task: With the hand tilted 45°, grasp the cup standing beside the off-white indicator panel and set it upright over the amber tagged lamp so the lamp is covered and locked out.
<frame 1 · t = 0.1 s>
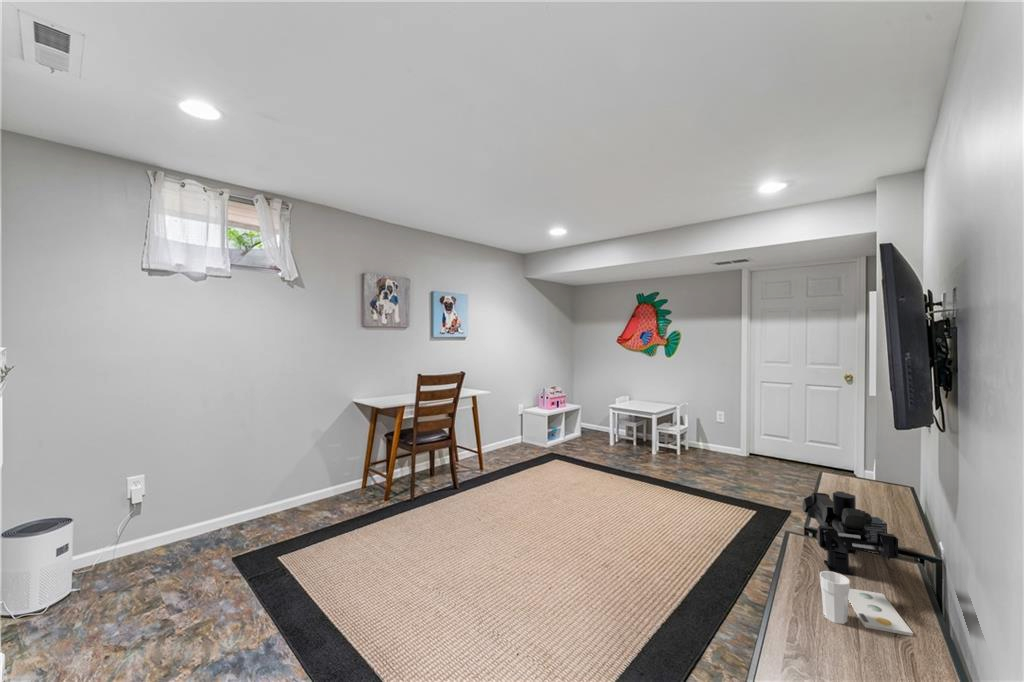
hand: (867, 554, 118), 17 cm above the table, tool horizontal, fingers open, 9 cm apart
cup: (835, 618, 117), on the table
small box: (866, 548, 155), on the table
indicator panel: (874, 611, 120), on the table
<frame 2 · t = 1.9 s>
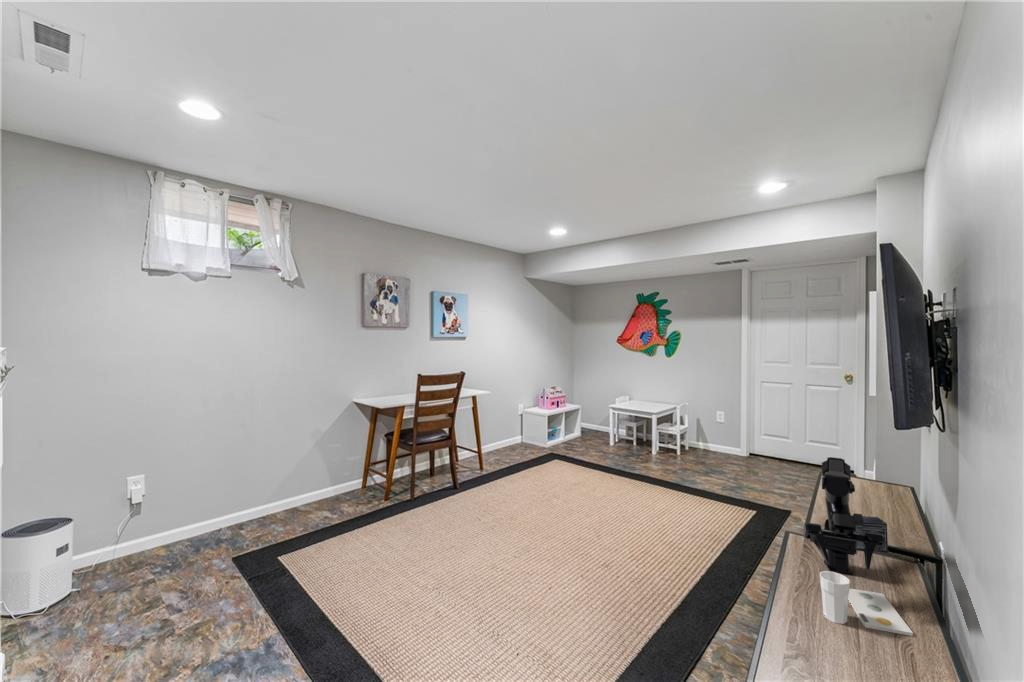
hand: (847, 566, 121), 12 cm above the table, tool tilted 45°, fingers open, 9 cm apart
nothing on the table moved.
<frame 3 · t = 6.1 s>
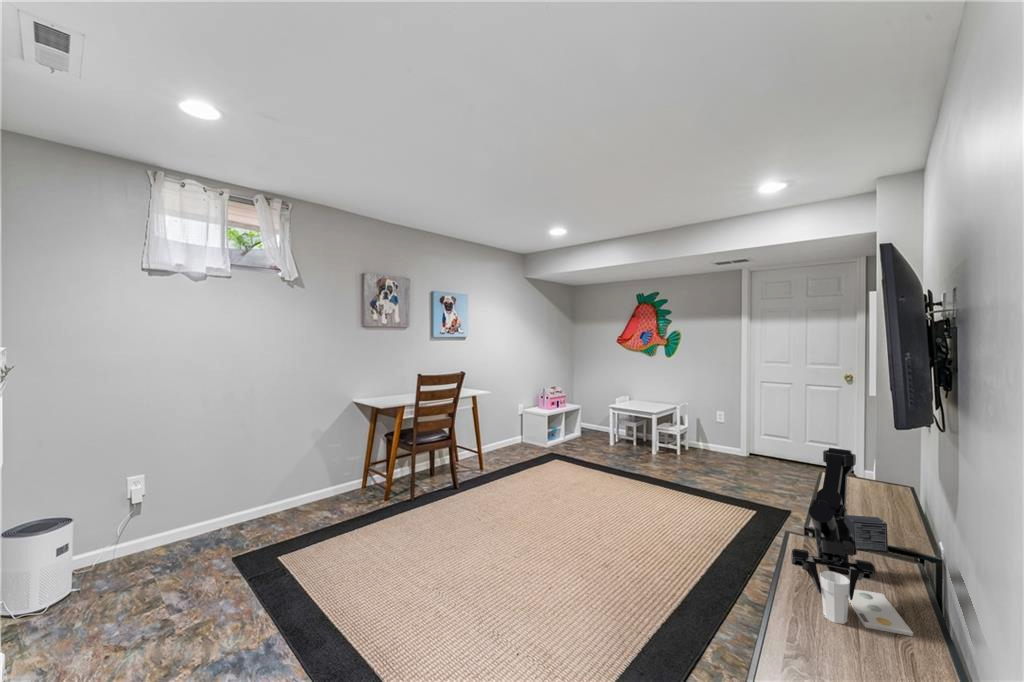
hand: (835, 596, 116), 7 cm above the table, tool tilted 45°, fingers closed on cup, 6 cm apart
cup: (835, 618, 117), on the table, touching gripper
everything else where it was.
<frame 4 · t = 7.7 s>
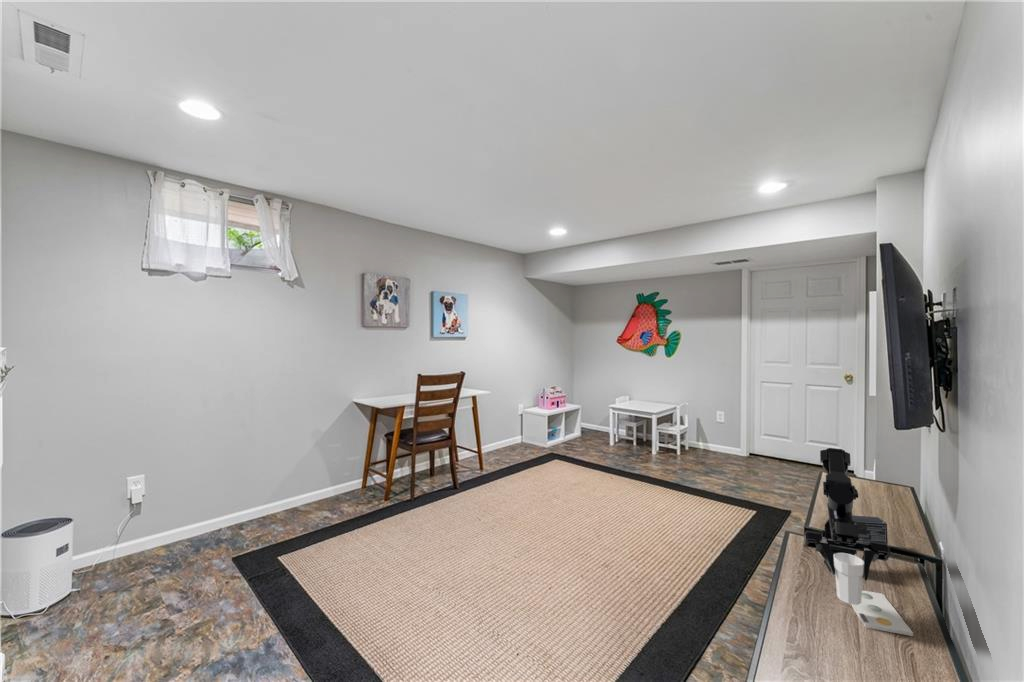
hand: (849, 577, 115), 12 cm above the table, tool tilted 45°, fingers closed on cup, 6 cm apart
cup: (848, 599, 116), point 5 cm above the table, touching gripper
everything else where it was.
when the fingers open (8 cm above the table, at t = 9.7 s): cup stays where it is, resting on indicator panel.
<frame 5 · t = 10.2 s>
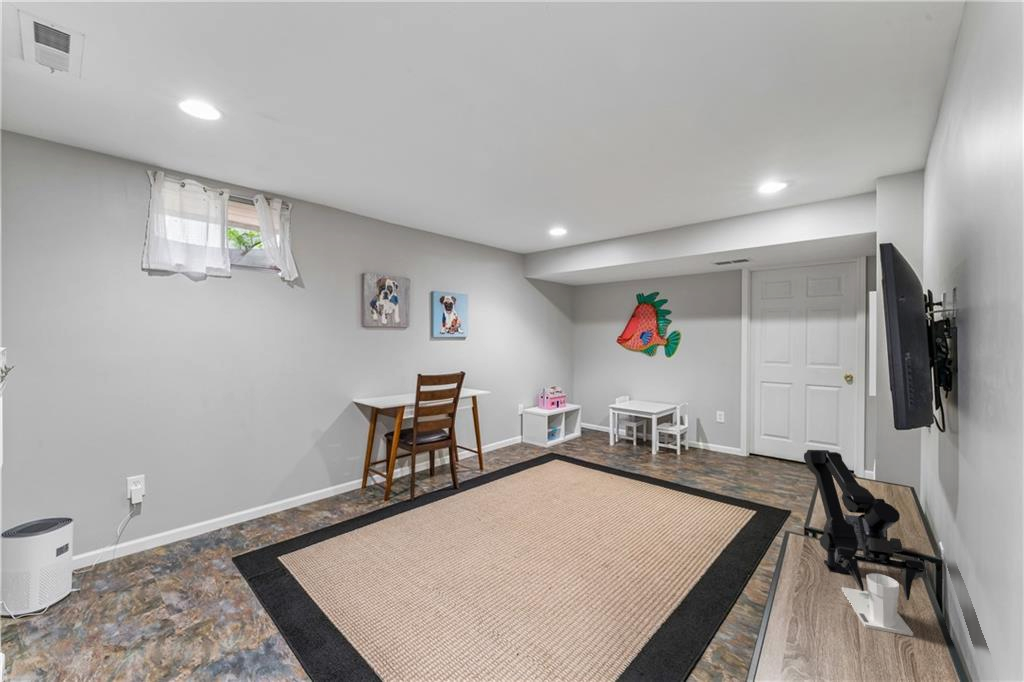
hand: (884, 595, 113), 9 cm above the table, tool tilted 45°, fingers open, 9 cm apart
cup: (883, 621, 114), point 1 cm above the table, touching indicator panel
everything else where it was.
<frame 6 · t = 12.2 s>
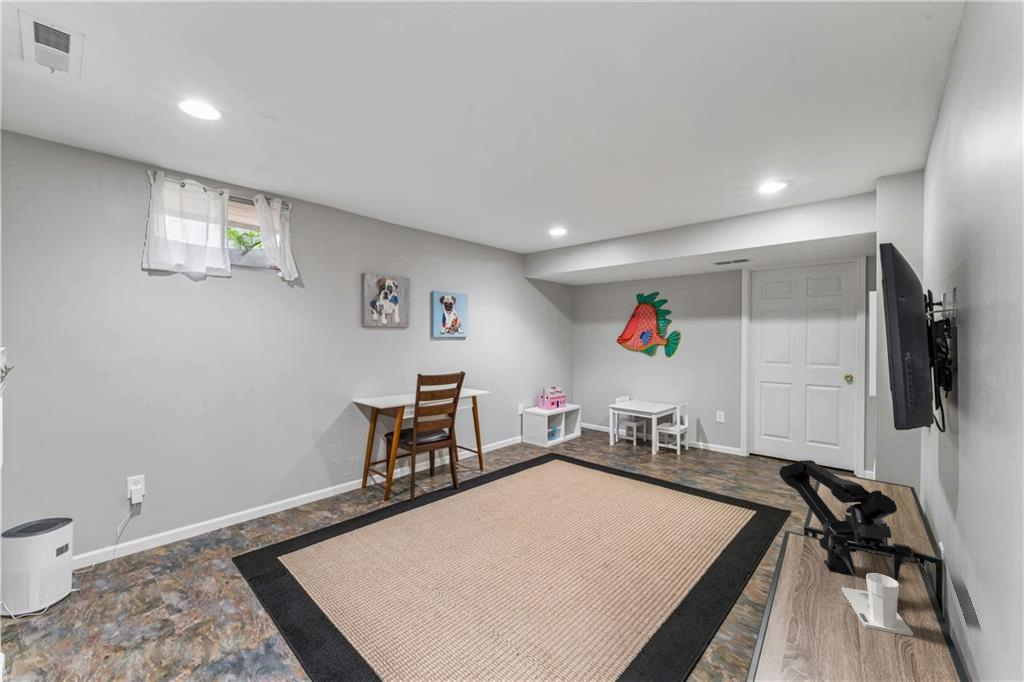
hand: (874, 578, 121), 8 cm above the table, tool tilted 45°, fingers open, 9 cm apart
nothing on the table moved.
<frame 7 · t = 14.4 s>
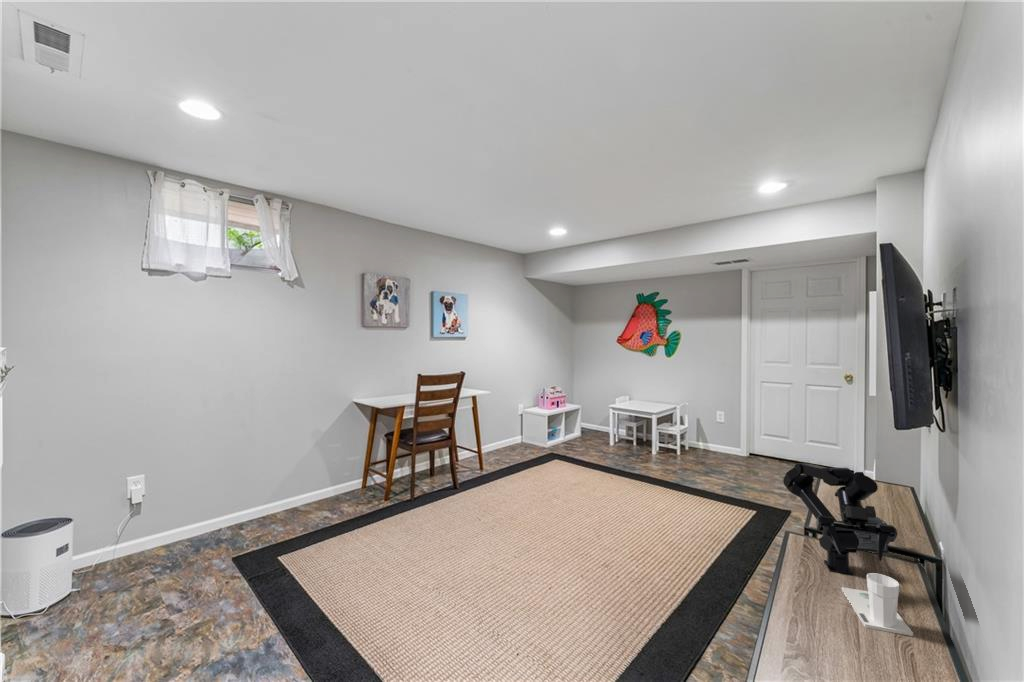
hand: (860, 557, 124), 13 cm above the table, tool tilted 45°, fingers open, 9 cm apart
nothing on the table moved.
at the end: cup 0.1 cm from the target spot on the indicator panel, point 0.6 cm above the indicator panel's base; cup tilted 0°; the gripper is holding nothing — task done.
